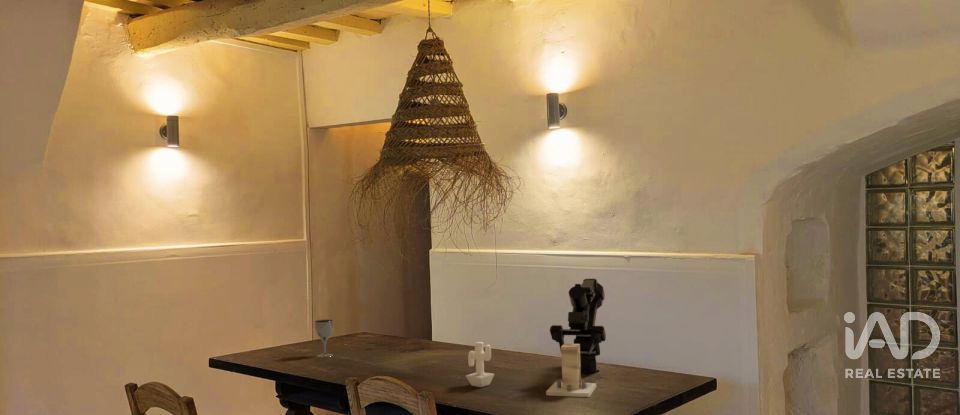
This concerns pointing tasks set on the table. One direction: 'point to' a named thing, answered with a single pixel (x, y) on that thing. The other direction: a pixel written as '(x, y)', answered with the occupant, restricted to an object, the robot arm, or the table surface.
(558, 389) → the stub base plate
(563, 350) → the maple block
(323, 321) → the wine glass
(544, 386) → the table surface
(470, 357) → the figurine
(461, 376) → the table surface
